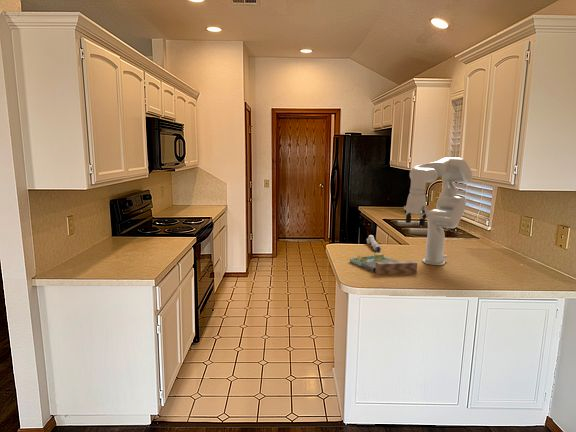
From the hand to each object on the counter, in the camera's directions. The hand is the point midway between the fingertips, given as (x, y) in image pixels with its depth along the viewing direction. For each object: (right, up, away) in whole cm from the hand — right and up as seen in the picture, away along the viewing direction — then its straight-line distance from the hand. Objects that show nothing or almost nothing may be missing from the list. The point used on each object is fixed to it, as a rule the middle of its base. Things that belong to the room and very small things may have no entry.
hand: (414, 224), depth 218 cm
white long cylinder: (-10, -17, +58) cm, 61 cm away
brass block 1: (-24, -21, +15) cm, 35 cm away
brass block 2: (-13, -20, +21) cm, 32 cm away
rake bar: (-10, -26, +2) cm, 28 cm away
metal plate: (-15, -24, +11) cm, 30 cm away
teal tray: (-20, -23, +20) cm, 36 cm away
